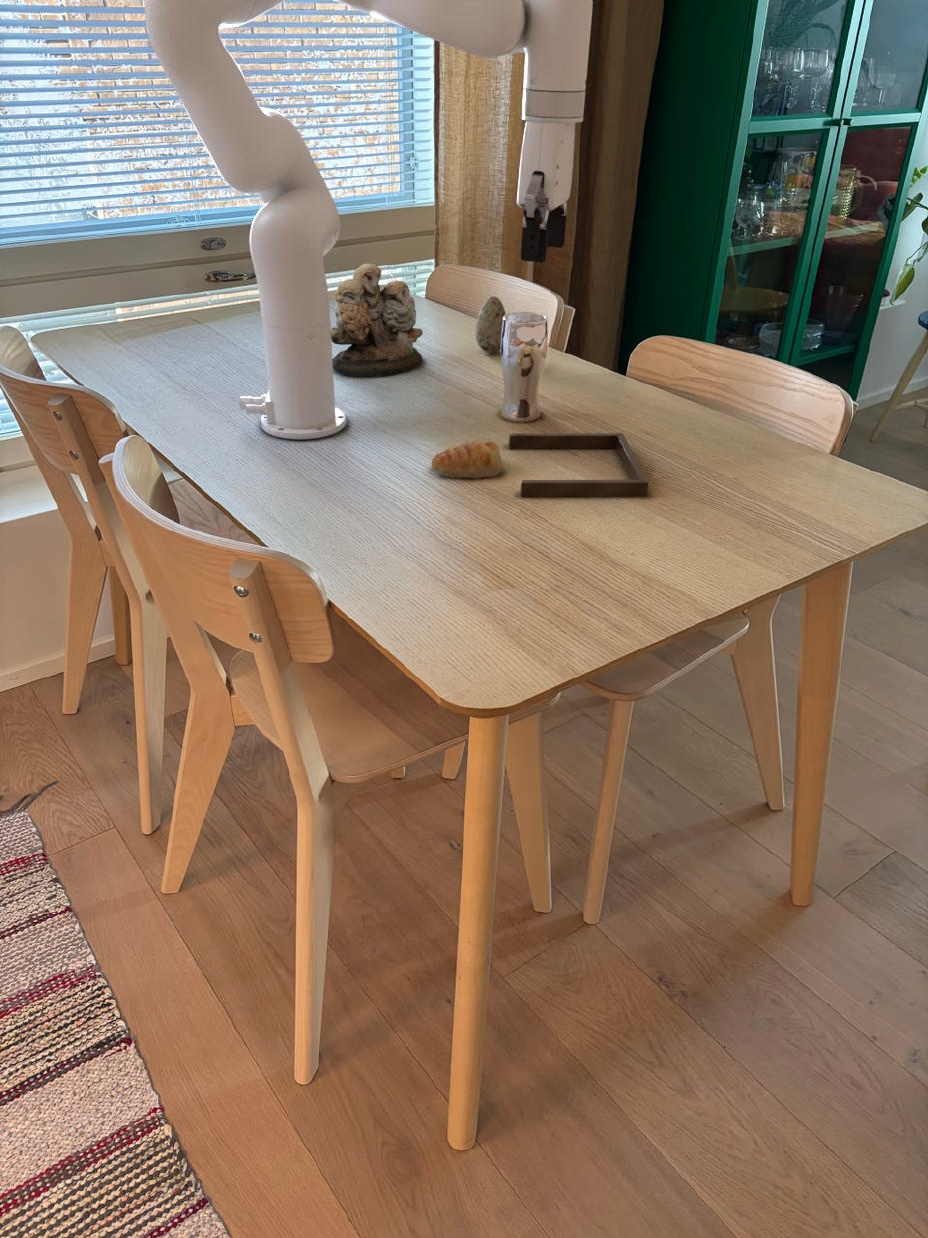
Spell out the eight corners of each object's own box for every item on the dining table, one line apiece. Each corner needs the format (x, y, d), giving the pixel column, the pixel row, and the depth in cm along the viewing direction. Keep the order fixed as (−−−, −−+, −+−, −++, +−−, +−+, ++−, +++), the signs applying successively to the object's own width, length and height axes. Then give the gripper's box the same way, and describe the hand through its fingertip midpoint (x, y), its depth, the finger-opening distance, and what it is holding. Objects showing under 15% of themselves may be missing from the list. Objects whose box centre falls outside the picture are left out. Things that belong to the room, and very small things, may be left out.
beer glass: (539, 425, 145) (545, 325, 137) (494, 420, 146) (497, 321, 138) (545, 409, 151) (551, 312, 143) (501, 405, 152) (505, 309, 144)
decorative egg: (469, 354, 174) (471, 298, 168) (481, 345, 179) (483, 290, 173) (500, 358, 172) (502, 302, 167) (511, 349, 177) (514, 294, 171)
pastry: (439, 484, 126) (439, 457, 124) (425, 464, 132) (425, 438, 130) (506, 476, 129) (507, 449, 127) (489, 457, 134) (490, 431, 132)
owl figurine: (347, 384, 159) (342, 278, 150) (313, 365, 167) (306, 263, 158) (436, 365, 168) (436, 264, 159) (399, 348, 176) (398, 251, 167)
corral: (521, 497, 124) (521, 483, 123) (508, 446, 138) (509, 433, 137) (647, 496, 125) (648, 482, 123) (621, 445, 139) (623, 432, 138)
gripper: (541, 99, 125) (532, 238, 134) (503, 110, 111) (496, 264, 120) (598, 103, 123) (585, 243, 132) (566, 114, 109) (554, 270, 118)
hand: (542, 253), depth 126 cm, fingers open, 9 cm apart
